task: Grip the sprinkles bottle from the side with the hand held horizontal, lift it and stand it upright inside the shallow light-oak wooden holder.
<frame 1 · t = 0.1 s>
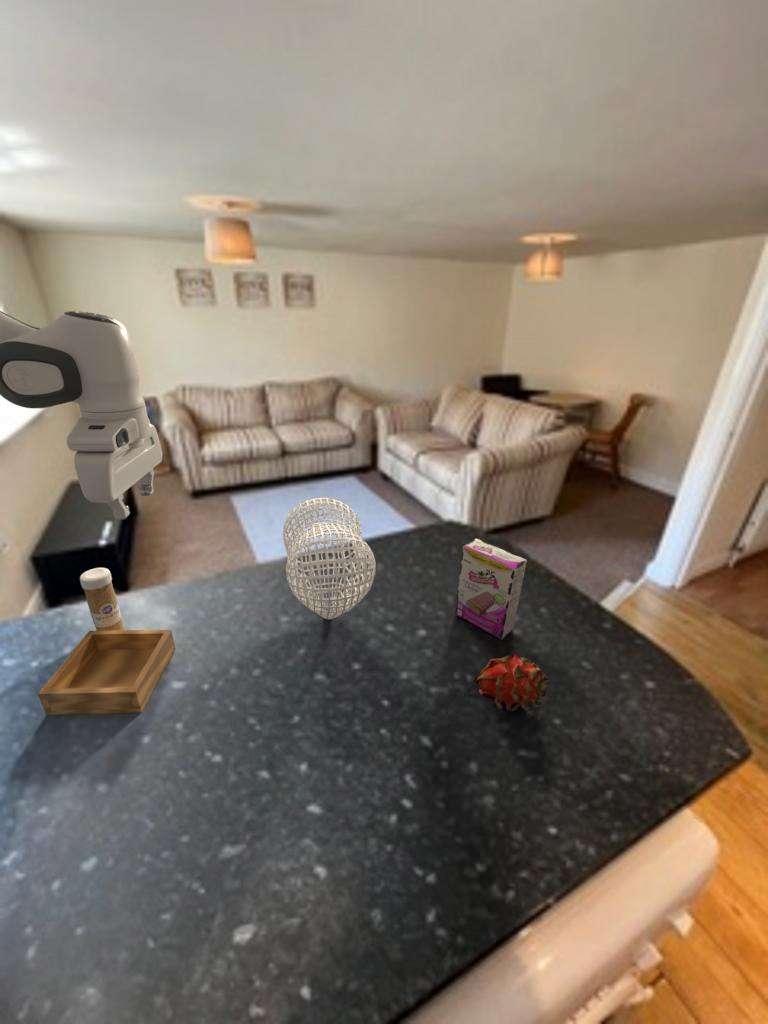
hand: (135, 505, 76), 25 cm above the worktop, tool pointing down, fingers open, 8 cm apart
dragon fruit: (506, 700, 72), on the worktop
sprinkles bottle: (112, 635, 84), on the worktop
candy bar box: (483, 623, 90), on the worktop
holder: (116, 678, 74), on the worktop
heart: (328, 615, 90), on the worktop
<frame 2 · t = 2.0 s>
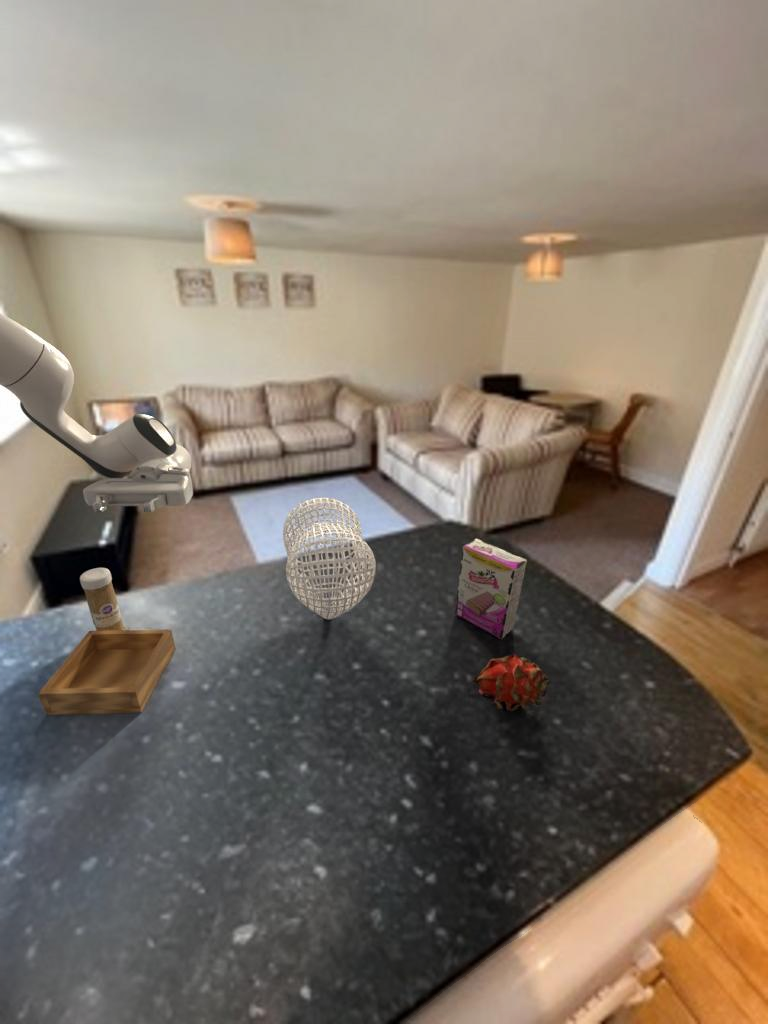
hand: (122, 508, 87), 20 cm above the worktop, tool horizontal, fingers open, 8 cm apart
nothing on the worktop moved.
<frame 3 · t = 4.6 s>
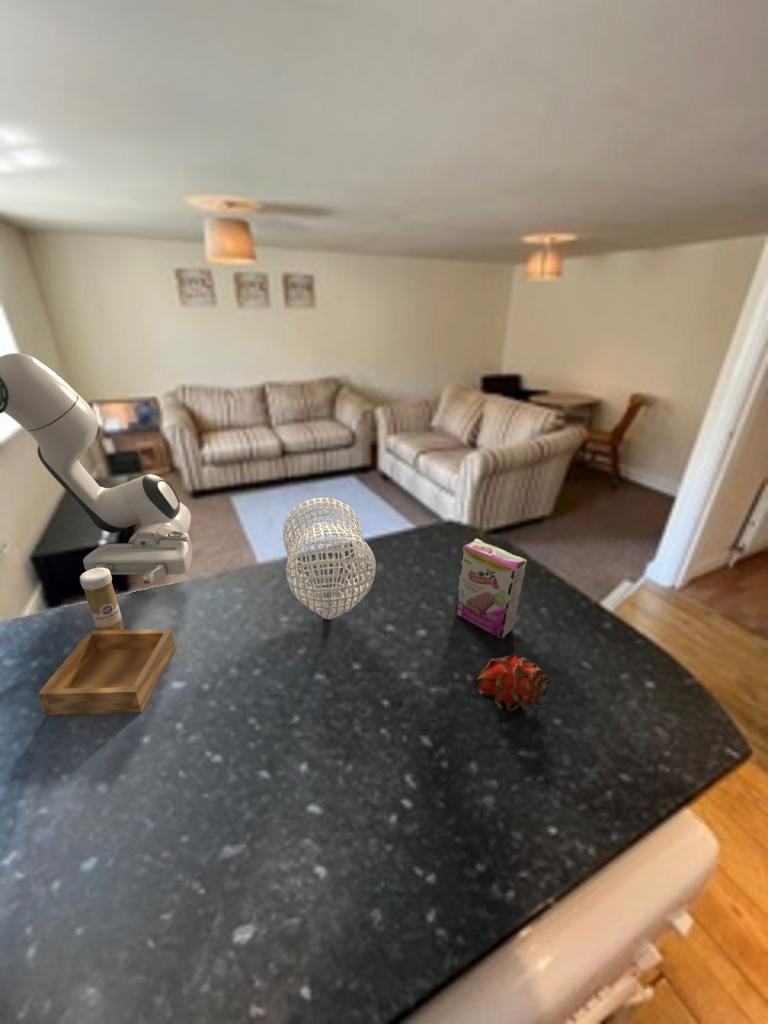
hand: (122, 580, 87), 7 cm above the worktop, tool horizontal, fingers open, 8 cm apart
nothing on the worktop moved.
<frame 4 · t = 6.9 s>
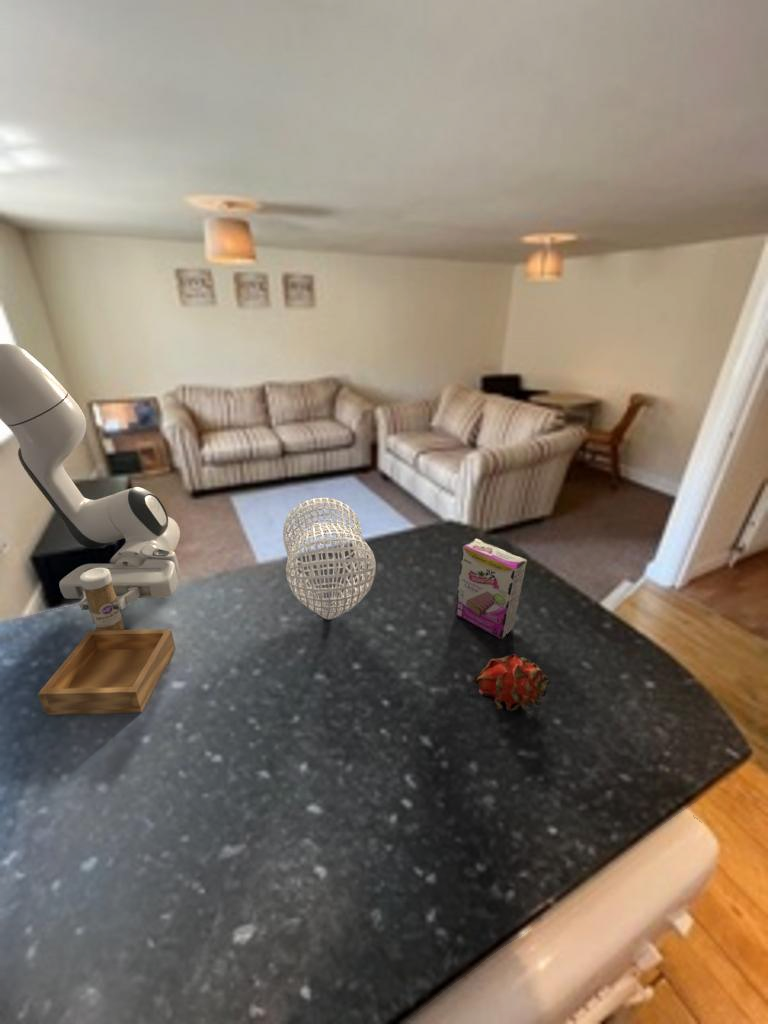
hand: (100, 606, 80), 7 cm above the worktop, tool horizontal, fingers closed on sprinkles bottle, 4 cm apart
sprinkles bottle: (112, 635, 84), on the worktop, touching gripper
everything else where it was.
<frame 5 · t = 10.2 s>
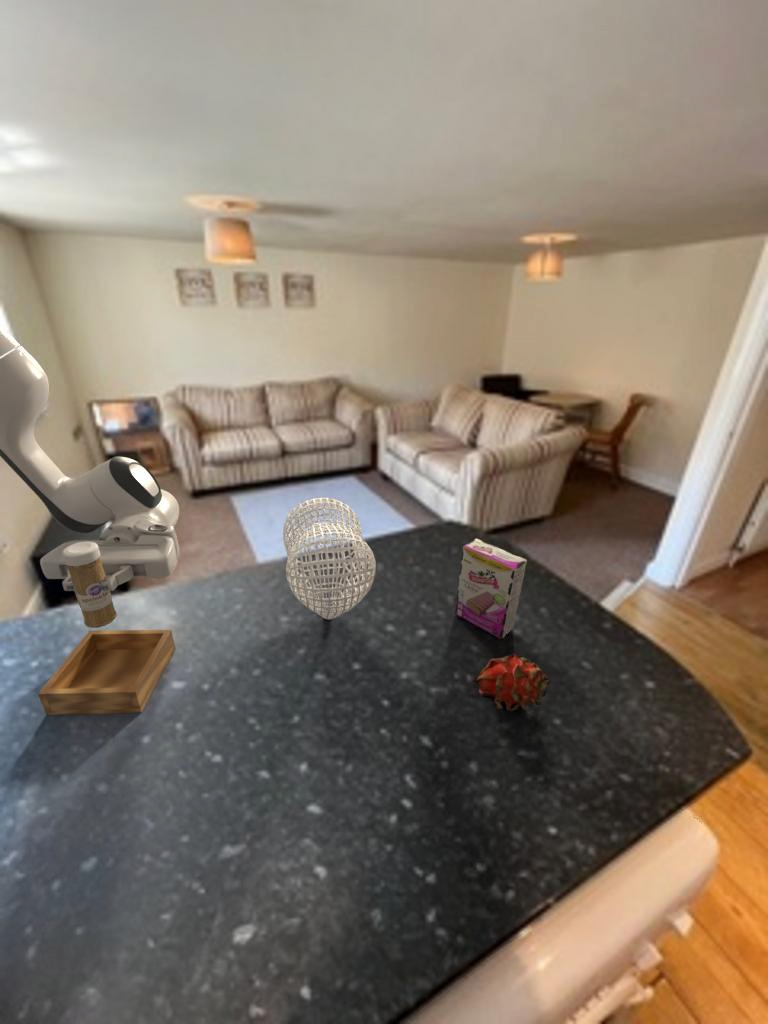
hand: (87, 587, 68), 17 cm above the worktop, tool horizontal, fingers closed on sprinkles bottle, 4 cm apart
sprinkles bottle: (101, 620, 72), point 10 cm above the worktop, touching gripper
everything else where it was.
when the fingers open (8 cm above the worktop, at t = 13.5 s): sprinkles bottle stays where it is, resting on holder.
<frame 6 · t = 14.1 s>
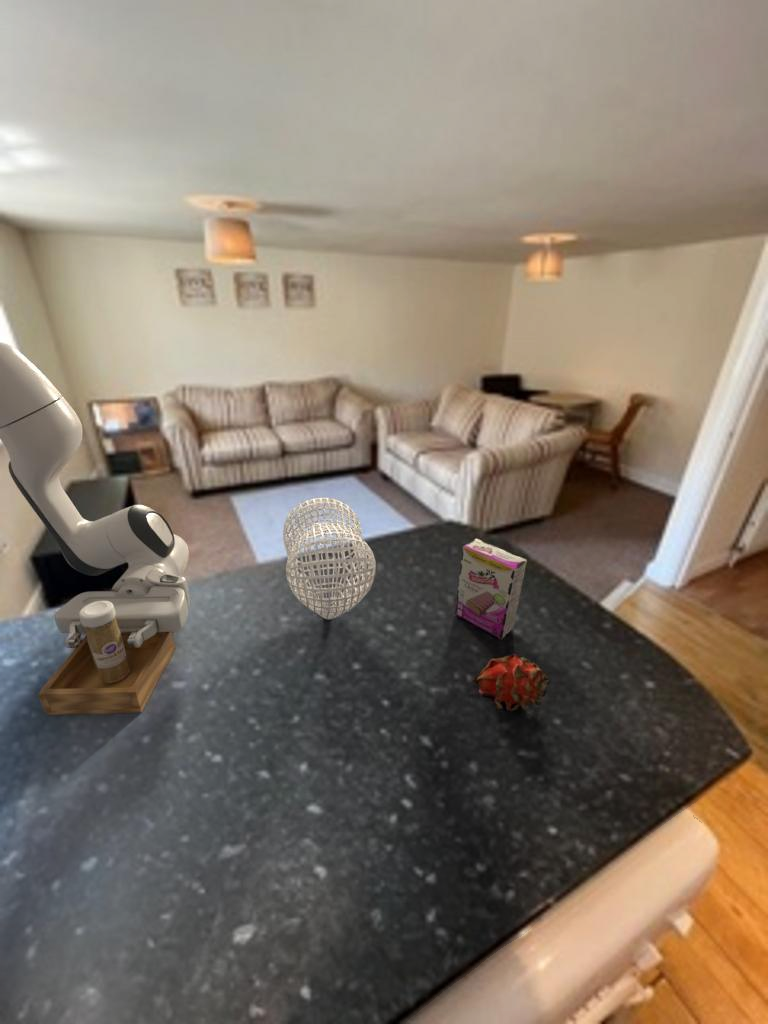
hand: (101, 644, 70), 8 cm above the worktop, tool horizontal, fingers open, 8 cm apart
sprinkles bottle: (116, 675, 74), point 1 cm above the worktop, touching holder
everything else where it was.
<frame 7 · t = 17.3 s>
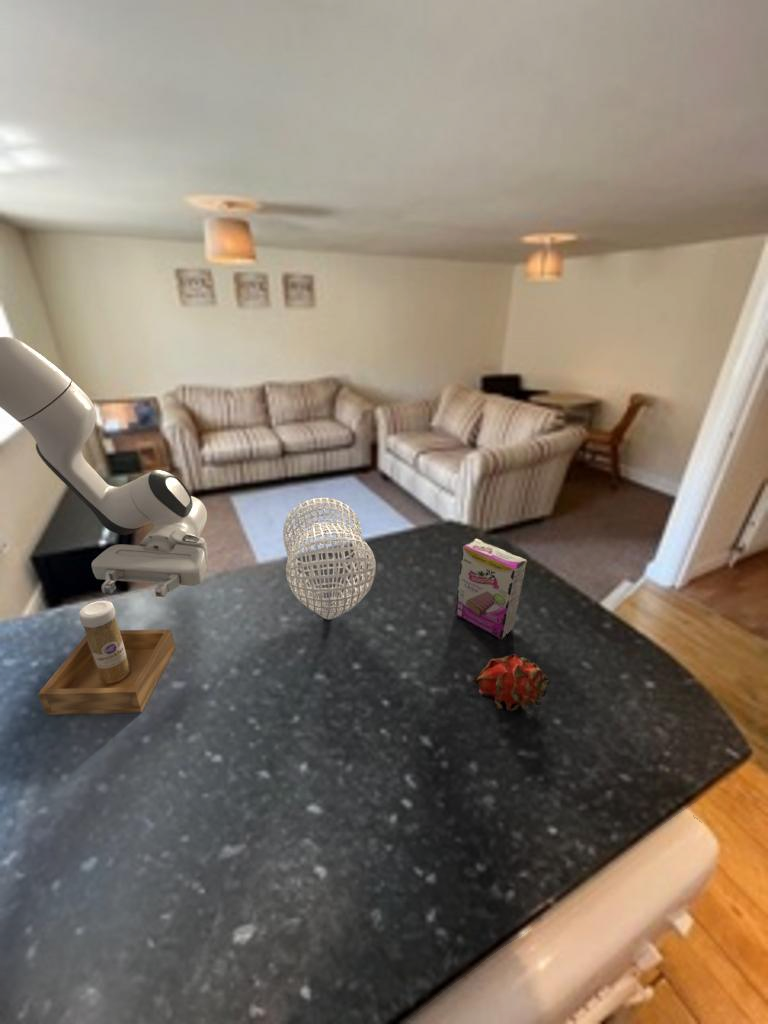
hand: (132, 592, 81), 9 cm above the worktop, tool horizontal, fingers open, 8 cm apart
nothing on the worktop moved.
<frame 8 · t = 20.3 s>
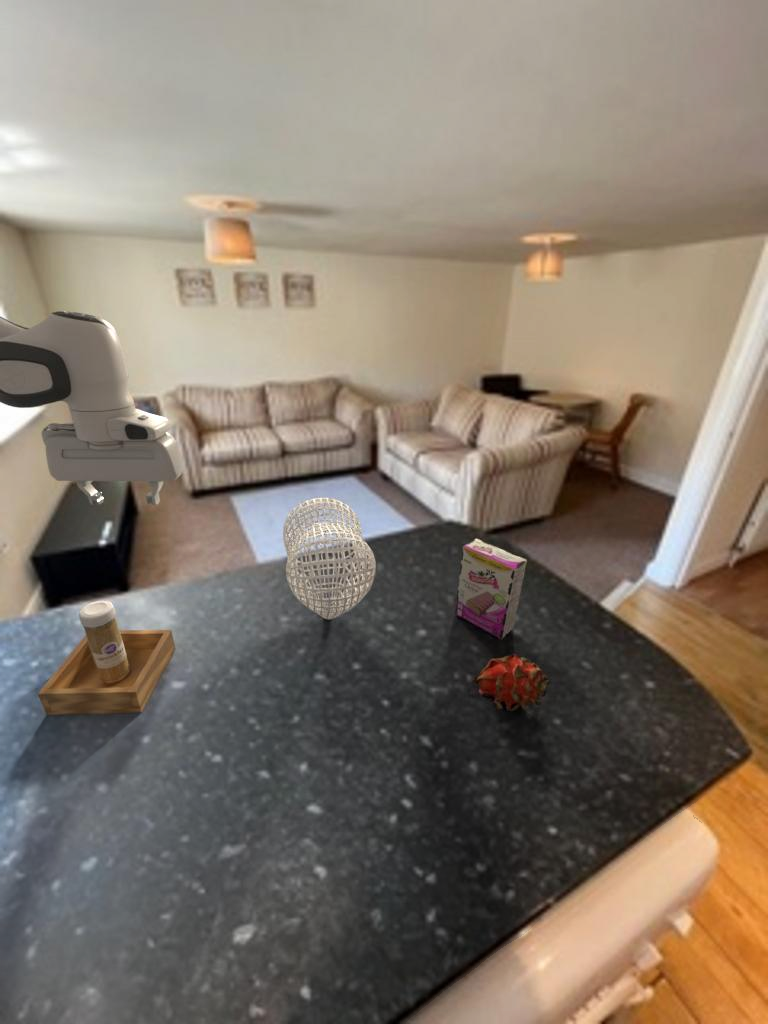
hand: (125, 503, 77), 25 cm above the worktop, tool pointing down, fingers open, 8 cm apart
nothing on the worktop moved.
at the end: sprinkles bottle inside the target area in the holder (0.1 cm from its centre), point 0.6 cm above the holder's base; sprinkles bottle tilted 0°; the gripper is holding nothing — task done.
